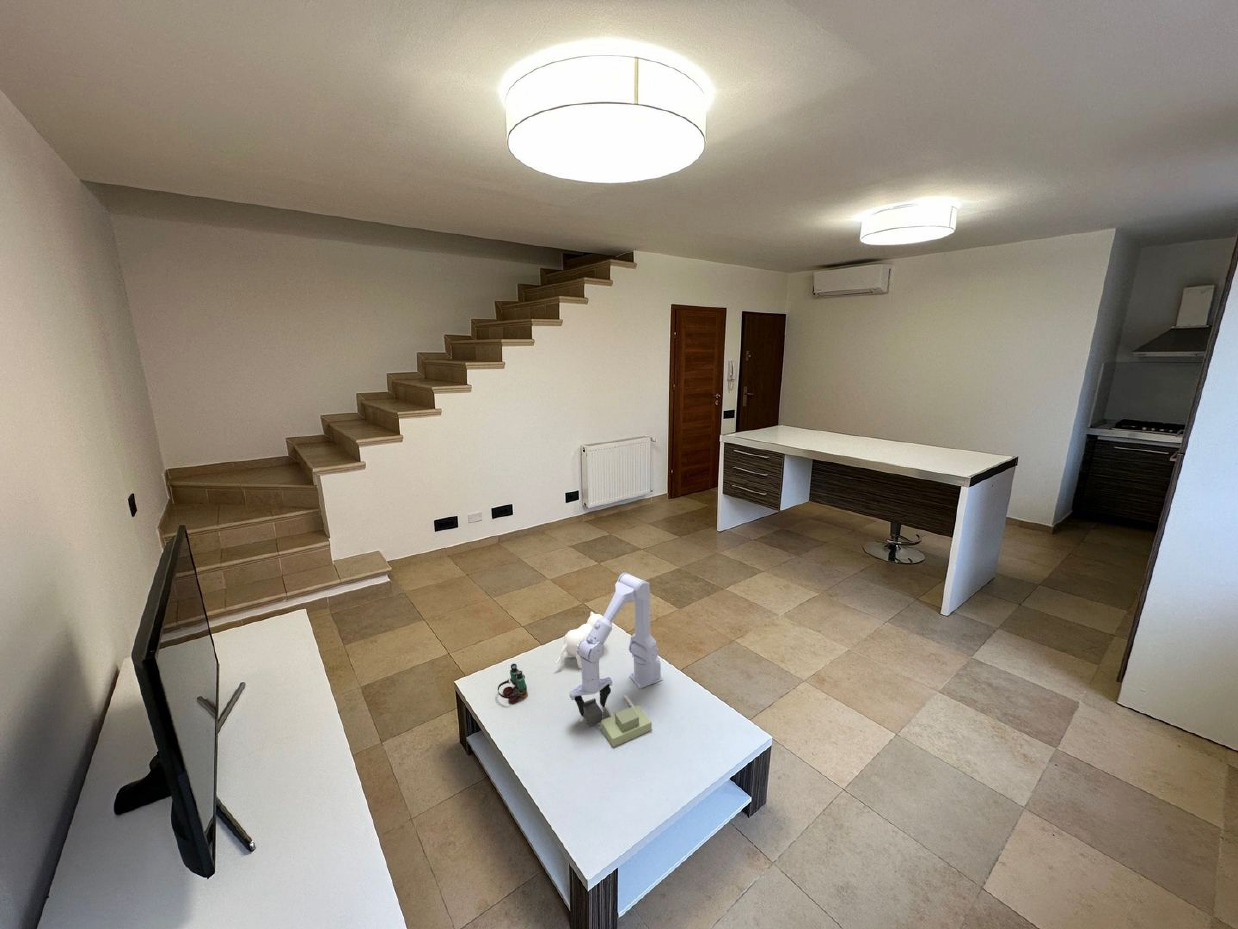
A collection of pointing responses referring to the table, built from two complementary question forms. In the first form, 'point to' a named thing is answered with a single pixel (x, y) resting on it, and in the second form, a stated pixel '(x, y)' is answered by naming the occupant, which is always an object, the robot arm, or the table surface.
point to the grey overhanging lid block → (592, 712)
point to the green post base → (625, 723)
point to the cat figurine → (578, 638)
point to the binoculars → (515, 685)
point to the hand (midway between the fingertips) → (592, 709)
